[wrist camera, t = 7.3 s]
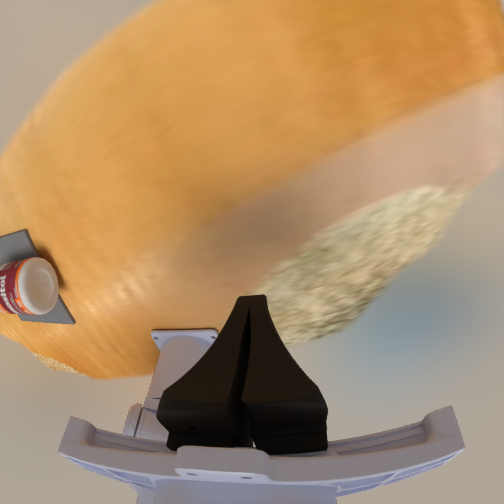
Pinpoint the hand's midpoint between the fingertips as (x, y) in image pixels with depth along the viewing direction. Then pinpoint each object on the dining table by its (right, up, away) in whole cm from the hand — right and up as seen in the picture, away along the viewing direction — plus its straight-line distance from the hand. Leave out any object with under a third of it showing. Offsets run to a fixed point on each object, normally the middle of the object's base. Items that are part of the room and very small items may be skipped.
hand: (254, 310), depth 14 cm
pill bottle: (-22, -1, +9) cm, 24 cm away
